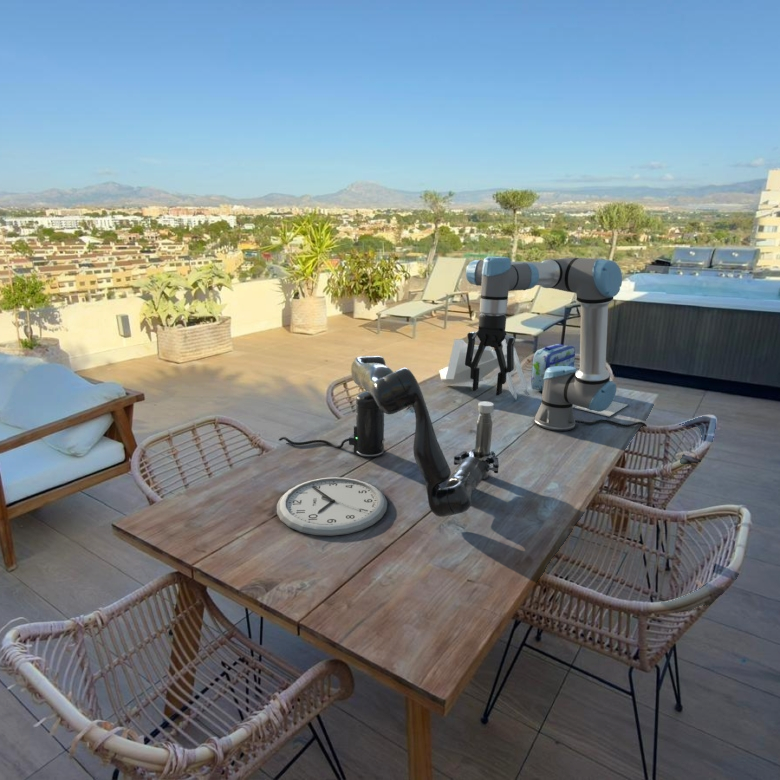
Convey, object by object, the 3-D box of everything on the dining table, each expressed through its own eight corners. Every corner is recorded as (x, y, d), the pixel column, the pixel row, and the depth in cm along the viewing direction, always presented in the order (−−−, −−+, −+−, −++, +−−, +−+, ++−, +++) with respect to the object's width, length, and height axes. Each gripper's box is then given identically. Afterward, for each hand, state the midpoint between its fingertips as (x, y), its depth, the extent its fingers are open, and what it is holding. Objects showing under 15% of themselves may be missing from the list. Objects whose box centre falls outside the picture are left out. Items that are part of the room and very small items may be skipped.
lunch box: (547, 396, 238) (552, 351, 232) (526, 391, 246) (531, 347, 239) (574, 385, 256) (579, 343, 250) (554, 380, 263) (559, 340, 257)
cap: (493, 409, 157) (494, 402, 156) (492, 414, 153) (493, 406, 152) (478, 407, 158) (479, 400, 157) (477, 412, 154) (477, 405, 153)
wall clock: (392, 527, 129) (268, 531, 127) (391, 533, 130) (269, 537, 127) (383, 473, 158) (282, 475, 155) (383, 478, 158) (282, 480, 156)
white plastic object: (461, 429, 252) (437, 405, 227) (444, 352, 274) (420, 323, 250) (535, 404, 240) (518, 377, 215) (510, 326, 262) (492, 293, 237)
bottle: (488, 473, 163) (494, 403, 156) (487, 479, 159) (493, 408, 152) (474, 471, 164) (479, 401, 157) (472, 477, 160) (477, 406, 153)
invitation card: (608, 416, 214) (573, 407, 224) (608, 416, 214) (573, 408, 224) (628, 404, 229) (594, 396, 238) (628, 405, 229) (594, 397, 238)
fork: (403, 410, 217) (403, 406, 216) (415, 399, 231) (415, 395, 231) (409, 411, 216) (409, 406, 215) (420, 400, 230) (420, 395, 230)
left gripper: (494, 467, 143) (508, 445, 158) (445, 457, 149) (462, 437, 164) (492, 492, 145) (506, 468, 160) (443, 481, 151) (461, 459, 166)
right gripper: (531, 315, 145) (523, 394, 152) (465, 309, 154) (460, 383, 161) (523, 319, 139) (515, 401, 146) (455, 312, 148) (451, 389, 155)
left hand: (484, 452), depth 162 cm, fingers closed on bottle, 4 cm apart
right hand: (486, 391), depth 153 cm, fingers open, 7 cm apart
